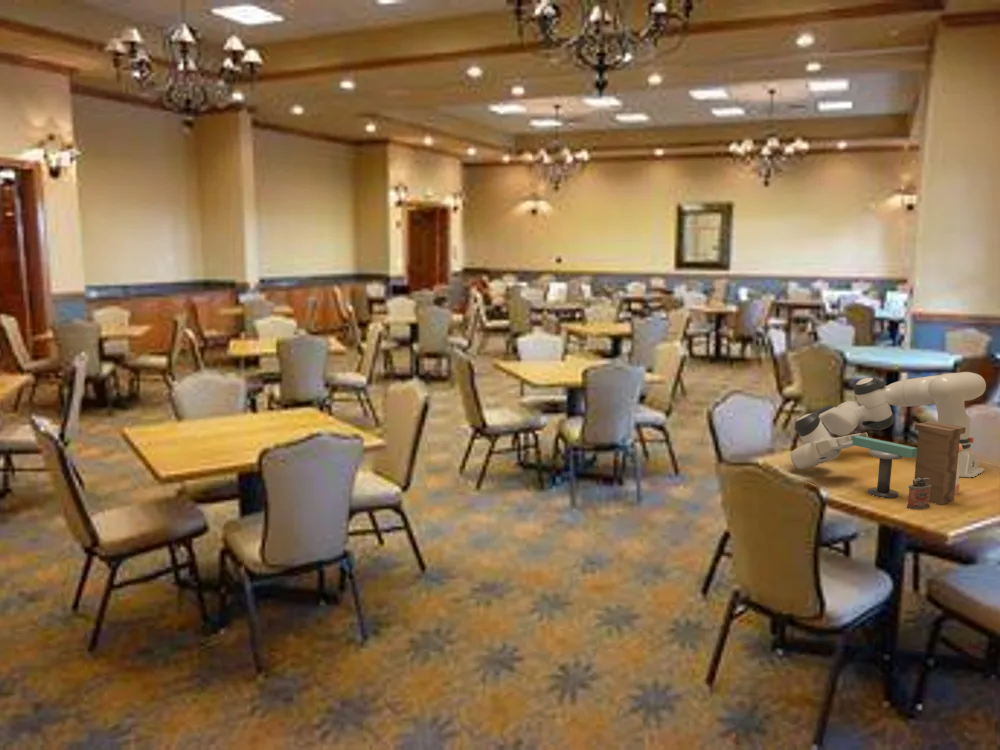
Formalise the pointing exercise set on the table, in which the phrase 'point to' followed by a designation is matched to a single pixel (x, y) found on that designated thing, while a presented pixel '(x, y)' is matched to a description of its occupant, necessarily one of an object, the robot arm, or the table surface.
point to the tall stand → (938, 458)
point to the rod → (885, 446)
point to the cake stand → (884, 474)
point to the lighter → (919, 494)
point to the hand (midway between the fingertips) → (858, 436)
